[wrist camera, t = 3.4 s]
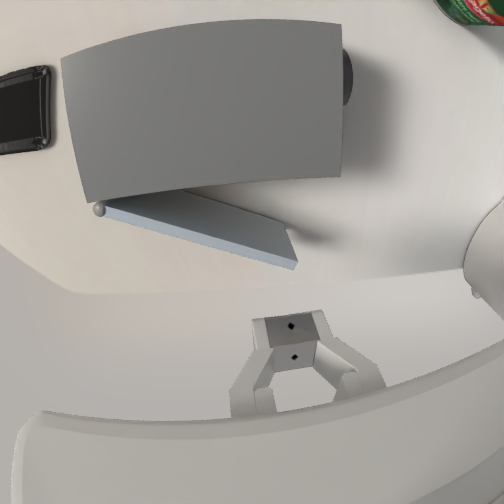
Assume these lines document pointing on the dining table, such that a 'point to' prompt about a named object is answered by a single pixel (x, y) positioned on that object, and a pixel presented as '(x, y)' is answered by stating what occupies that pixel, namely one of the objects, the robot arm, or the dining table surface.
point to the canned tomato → (473, 11)
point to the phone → (25, 110)
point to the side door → (204, 224)
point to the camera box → (208, 106)
